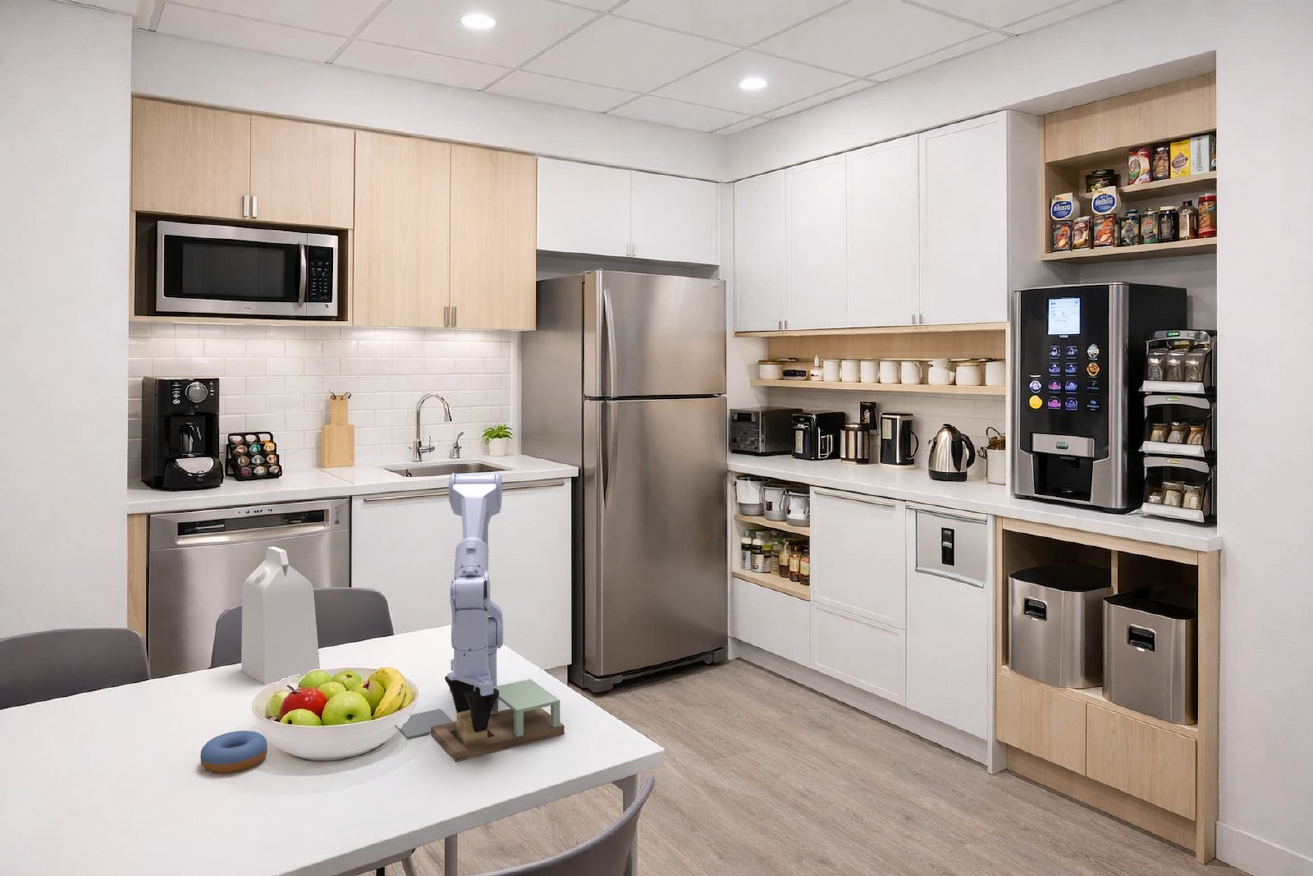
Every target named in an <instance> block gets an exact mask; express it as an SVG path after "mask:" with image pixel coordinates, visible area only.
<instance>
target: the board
mask: <svg viewBox="0 0 1313 876" xmlns="http://www.w3.org/2000/svg"><path fill="white" fill-rule="evenodd" d="M560 734H561V735H565V724H563V722H561V721H560V726H558V727H553V726H551V713H549V712H547V711H546V710H545V709H544V708H538V709H534V710H530V711H526V712H523V735H522V736H518V737H517V736H516V735H514V711H513V710H512V709H511V708H507V709H502V710H498V714H494V715H491V714H490V718H489V723H488V727H487V738H485V739H481V740H477V741H473V742H469V743H465V744H461V743H460V742H459V741H458V740H457V720H454V721H453V722H450V723H445V724H441V725H437V726H432V727H431V734H430V735H431V737H432V738H433V737H434V738H435V739H434V740H435V741H436V742H437V743H438V744H439V745H440V746H441V747H442V748H443V749H444V751H445V752H446V751H447V754H448V755H449V756H450V757H451V758H452V759H453V760H454V761H455V762H459V761H463V760H466V759H471V758H476V757H478V756H483V755H486V754H491V753H493V752H499V751H502V750H506V749H510V748H514V747H517V746H521V745H525V744H526V745H527V744H529V743H534V742H537V741H541V740H545V739H549V738H552V737H556V736H561V735H560Z"/></svg>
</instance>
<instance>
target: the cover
mask: <svg viewBox="0 0 1313 876" xmlns="http://www.w3.org/2000/svg"><path fill="white" fill-rule="evenodd" d="M493 688H496V689H497V690H499V696H498V698H497V699H496V701H495V703H494V705H493V708H492V711H491V715H494V714H498V711H499V700H500V701H501V702H502V703H503V704H505V705H506V706H507V707H508V709H510V708H511V709H512V710H513V711H514V735H516V736H517V737H518V736H522V735H523V712H526V711H530V710H534V709H538V708H542V709H544V708H546V707H550V715H551V726H553V727H558V726H560V722H561V700H560V699H559V698H558V697H556V696H555V695H553V694H552V693H551V692H549V691H548V690H546V689H545V688H544V687H542V686H540V685H539V684H538V683H536V682H535V681H534V680H532V679H531V678H529V679H524V680H519V681H513V682H509V683H506V684H501V685H497V686H495V687H493Z"/></svg>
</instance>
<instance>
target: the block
mask: <svg viewBox="0 0 1313 876" xmlns="http://www.w3.org/2000/svg"><path fill="white" fill-rule="evenodd" d="M456 721H457V738H456V739H457V740H458V741H459V742H460V743H461V744H465V743H469V742H473V741H477V740H481V739H485V738H488V737H487V730H485V731H480V732H474V730H473V726H472V719H471V712H470V710H468V711H463V712H459V713H457V712H456Z"/></svg>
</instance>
